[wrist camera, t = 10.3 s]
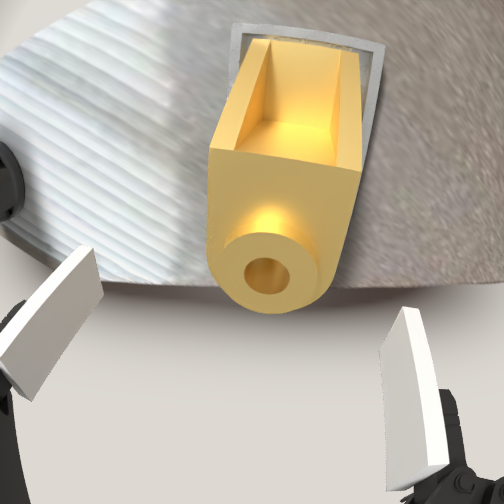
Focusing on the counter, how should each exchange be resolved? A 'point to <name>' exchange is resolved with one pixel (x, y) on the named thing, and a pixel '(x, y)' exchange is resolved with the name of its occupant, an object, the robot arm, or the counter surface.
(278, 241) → the yellow mounting bracket
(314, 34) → the tray
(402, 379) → the robot arm
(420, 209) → the counter surface
